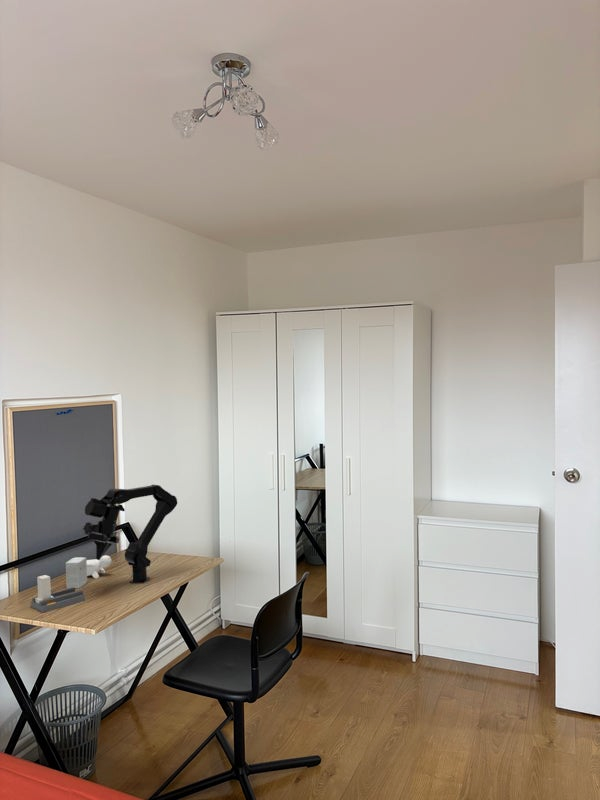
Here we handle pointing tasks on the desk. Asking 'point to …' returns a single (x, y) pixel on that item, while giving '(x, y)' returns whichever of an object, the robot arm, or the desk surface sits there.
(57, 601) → the switch base
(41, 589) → the switch tab
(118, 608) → the desk surface
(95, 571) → the white toy figurine
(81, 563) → the small box
